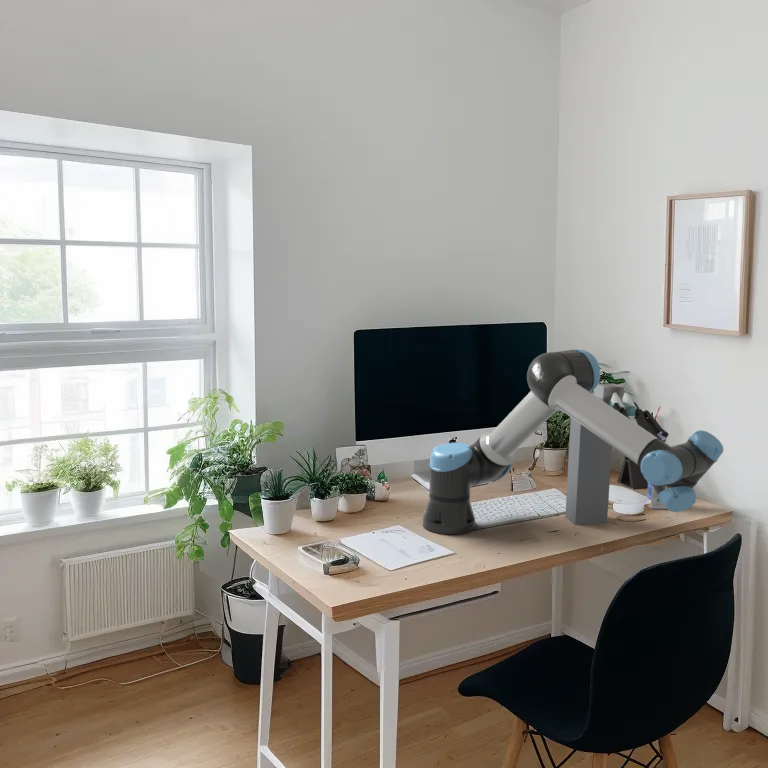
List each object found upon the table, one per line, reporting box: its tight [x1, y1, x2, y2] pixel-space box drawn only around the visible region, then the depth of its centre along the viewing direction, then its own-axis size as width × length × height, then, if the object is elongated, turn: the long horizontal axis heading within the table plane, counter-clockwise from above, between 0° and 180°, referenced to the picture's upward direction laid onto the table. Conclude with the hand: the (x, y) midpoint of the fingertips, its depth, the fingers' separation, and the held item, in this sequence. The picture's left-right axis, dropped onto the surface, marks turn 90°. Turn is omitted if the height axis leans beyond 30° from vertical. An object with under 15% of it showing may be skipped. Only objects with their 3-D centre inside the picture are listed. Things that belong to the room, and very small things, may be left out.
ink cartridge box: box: [646, 481, 668, 510], centre depth 245 cm, size 10×6×14 cm, turn 89°
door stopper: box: [617, 455, 648, 490], centre depth 269 cm, size 9×6×12 cm, turn 19°
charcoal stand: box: [565, 417, 613, 525], centre depth 230 cm, size 10×7×32 cm
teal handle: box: [592, 383, 635, 417], centre depth 213 cm, size 6×16×6 cm, turn 10°
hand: (619, 396), depth 211 cm, fingers closed on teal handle, 2 cm apart
